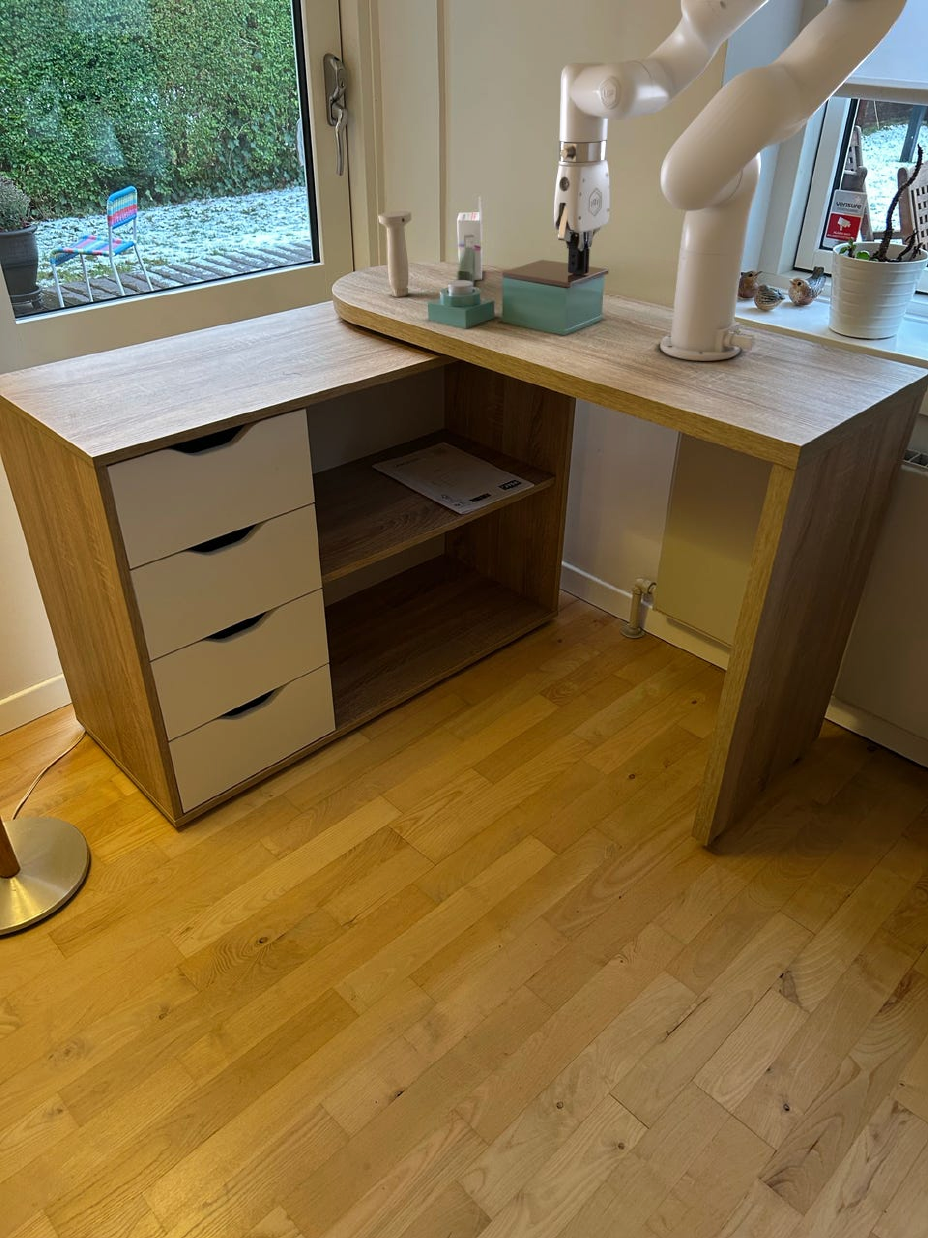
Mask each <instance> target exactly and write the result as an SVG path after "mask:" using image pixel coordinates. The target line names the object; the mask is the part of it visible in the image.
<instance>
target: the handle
mask: <svg viewBox="0 0 928 1238" xmlns="http://www.w3.org/2000/svg"><path fill="white" fill-rule="evenodd" d="M377 217H378V221H379V224H381V225H383V226H384V227H386V234H387V235H386V236H387V237H386V238H387V239H386V240H387V272H388V273H387V274H388V280H389V286H390V288H391V289H390V292H391V296H392V297H395V298H400V297H402V298H403V297H406V296H407V295H408V293H409V287H408V286H409V260H408V252H407V243H406V232H405V231H406V228H405V227H406V226H407V224H408V223H410V221H411V220H412V212H411V211H407V210H396V211H388V212H383V213H380V214H378V216H377Z"/></svg>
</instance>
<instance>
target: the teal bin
mask: <svg viewBox="0 0 928 1238" xmlns="http://www.w3.org/2000/svg"><path fill="white" fill-rule="evenodd" d="M501 279H502V280H501V282H502V283H501V284H502V285H501V291H502V292H501V294H502V295H501V299H502V300H501V302H502V303H501V304H502V305H501V306H502V307H501V308H502V309H501V311H502V313H501V314H502V315H501V316H502V321H501V323H505V324H511V325H514V326H519V327H523V328H524V327H525V328H528V329H534V330H539V331H542V332H548V333H552V334H556V335H560V336H566V335H569V334H571V333H573V332H576V331H579V330H580V329H583V328H585V327H586V328H587V327H588V326H590V325H592V324H595V323H598V322H600V321H602V319H603V307H604V305H603V304H604V291H605V289H604V287H605V275H604V276H601V277H598V278H596V279H593V280H590V281H587V282H584V283H582V284H579V285H576V286H573V287H570V288H568V287H562V286H556V285H550V284H544V283H538V282H531V281H525V280H519V279H513V278H507V277H502V278H501Z"/></svg>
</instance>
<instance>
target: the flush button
mask: <svg viewBox="0 0 928 1238" xmlns="http://www.w3.org/2000/svg"><path fill="white" fill-rule="evenodd" d="M473 287H474V285H473V282H471V281H467V280H457V279H456V280H451V281H449V282H448V283H447V288H448V293H449V294H454V295H464V294H470V293H473Z"/></svg>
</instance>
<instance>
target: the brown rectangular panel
mask: <svg viewBox="0 0 928 1238" xmlns="http://www.w3.org/2000/svg"><path fill="white" fill-rule="evenodd" d="M607 275H609V268H602V267H595V266H589V272H588V273H586V274H583V275H579V274H573V273H569V272H568V262H561V261H554V260H547V259H540V260H536V261H534V262H530V263H527V264H524V265H521V266H517V267H514V268H512V269H508V270H505V271H502V277H507V278H513V279H519V280H525V281H531V282H538V283H544V284H550V285H556V286H562V287H568V288H570V287H573V286H576V285H579V284H582V283H584V282H587V281H590V280H593V279H596V278H598V277H601V276H604V277H605V276H607Z"/></svg>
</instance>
